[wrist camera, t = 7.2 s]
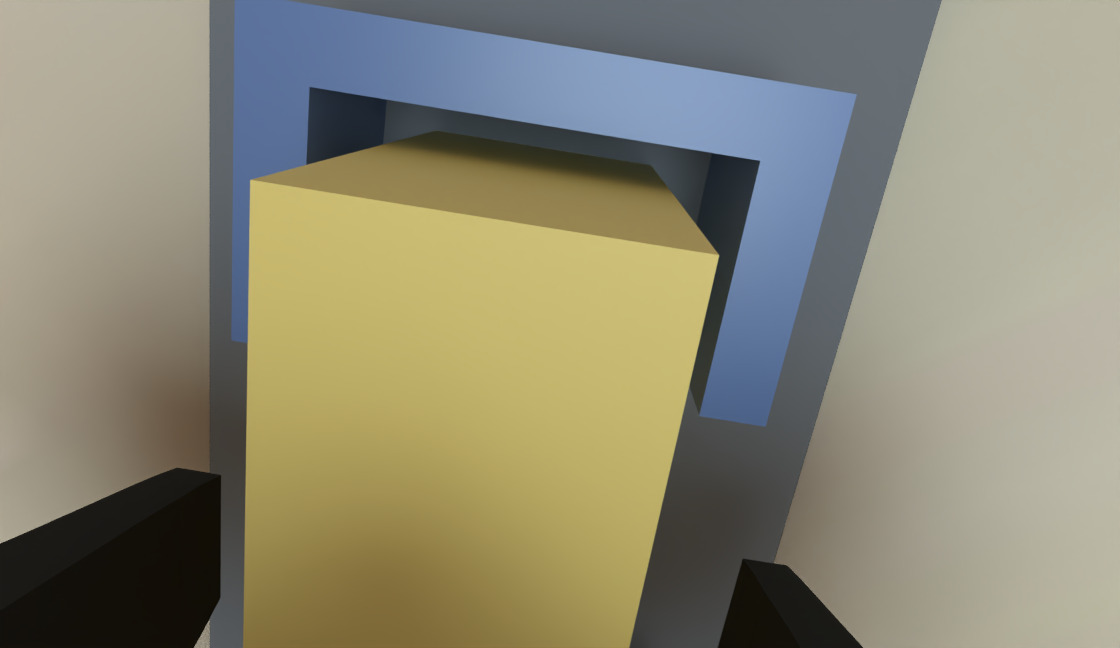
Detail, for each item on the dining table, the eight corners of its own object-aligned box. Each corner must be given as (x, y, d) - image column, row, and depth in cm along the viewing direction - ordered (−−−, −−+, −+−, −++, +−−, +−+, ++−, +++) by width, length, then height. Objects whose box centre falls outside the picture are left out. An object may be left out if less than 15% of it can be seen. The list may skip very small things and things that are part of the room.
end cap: (336, 19, 10) (235, -9, 7) (782, 92, 10) (856, 95, 7) (323, 276, 11) (230, 340, 8) (722, 341, 11) (765, 426, 8)
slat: (543, 730, 14) (509, 1171, 8) (381, 705, 14) (235, 1129, 8) (650, 165, 11) (719, 255, 5) (436, 130, 10) (250, 179, 5)
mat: (670, 887, 16) (671, 901, 15) (217, 815, 16) (210, 828, 15) (958, -88, 10) (968, -92, 9) (221, -210, 10) (210, -219, 9)
